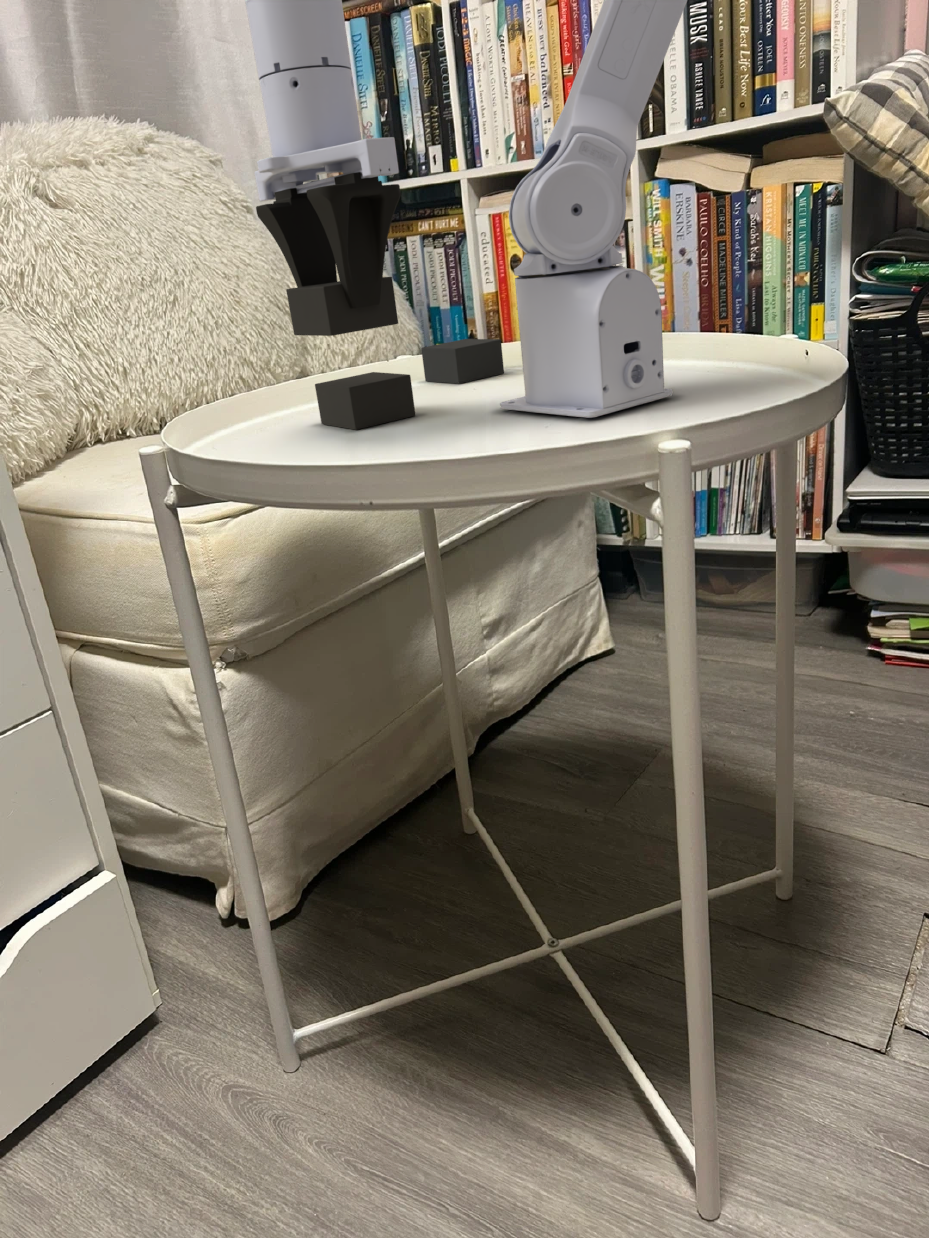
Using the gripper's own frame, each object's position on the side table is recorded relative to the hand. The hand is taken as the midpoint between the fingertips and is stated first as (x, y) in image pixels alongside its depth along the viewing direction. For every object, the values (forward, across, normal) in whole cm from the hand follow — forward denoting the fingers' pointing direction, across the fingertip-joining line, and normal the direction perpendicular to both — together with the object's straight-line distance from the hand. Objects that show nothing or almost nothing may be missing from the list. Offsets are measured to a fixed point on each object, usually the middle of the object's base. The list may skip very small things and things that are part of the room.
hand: (342, 307), depth 63 cm
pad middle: (+1, 0, 0) cm, 1 cm away
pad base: (+8, -12, +19) cm, 24 cm away
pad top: (+8, -4, +3) cm, 10 cm away
